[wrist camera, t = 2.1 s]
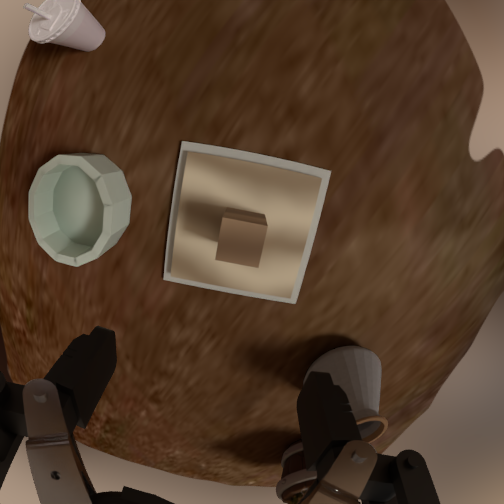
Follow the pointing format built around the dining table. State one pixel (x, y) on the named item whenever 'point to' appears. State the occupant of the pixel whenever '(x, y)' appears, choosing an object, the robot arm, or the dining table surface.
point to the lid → (242, 224)
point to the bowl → (79, 207)
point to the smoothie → (65, 25)
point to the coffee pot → (356, 385)
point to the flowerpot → (294, 475)
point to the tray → (255, 159)
